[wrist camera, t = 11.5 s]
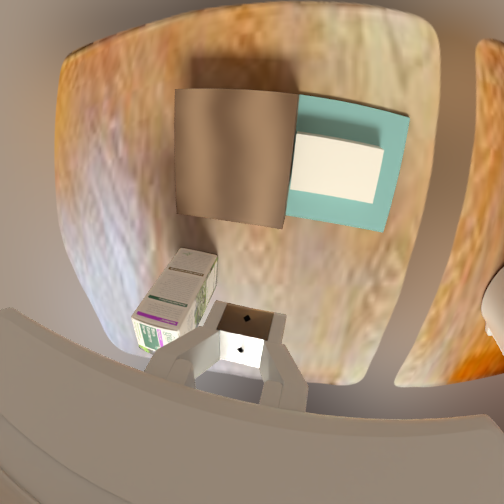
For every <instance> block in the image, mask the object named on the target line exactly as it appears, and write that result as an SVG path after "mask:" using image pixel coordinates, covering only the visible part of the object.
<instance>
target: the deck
mask: <svg viewBox="0 0 504 504" xmlns="http://www.w3.org/2000/svg"><path fill="white" fill-rule="evenodd" d="M299 96H300V95H299V94H291V93H282V92H272V91H260V90H244V89H175V186H176V209H177V214H183V215H190V216H197V217H204V218H211V219H218V220H225V221H232V222H239V223H245V224H252V225H258V226H265V227H271V228H277V229H282V228H283V224H284V219H285V215H286V208H287V200H288V192H289V185H290V176H291V168H292V160H293V151H294V143H295V134H296V125H297V115H298V106H299Z"/></svg>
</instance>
